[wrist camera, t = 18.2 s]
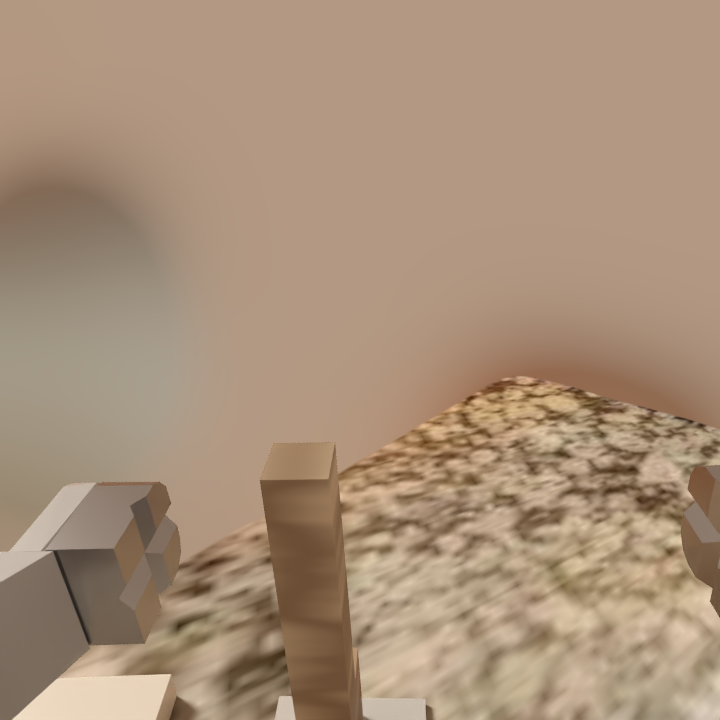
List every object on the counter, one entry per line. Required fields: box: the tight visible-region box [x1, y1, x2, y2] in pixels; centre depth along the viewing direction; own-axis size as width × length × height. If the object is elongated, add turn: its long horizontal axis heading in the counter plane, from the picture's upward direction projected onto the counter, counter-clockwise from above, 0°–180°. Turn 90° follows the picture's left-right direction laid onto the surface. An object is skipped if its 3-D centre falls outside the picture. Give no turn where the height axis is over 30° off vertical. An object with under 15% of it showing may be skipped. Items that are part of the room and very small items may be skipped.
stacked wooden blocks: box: [260, 442, 363, 720], centre depth 26 cm, size 2×6×18 cm, turn 177°
